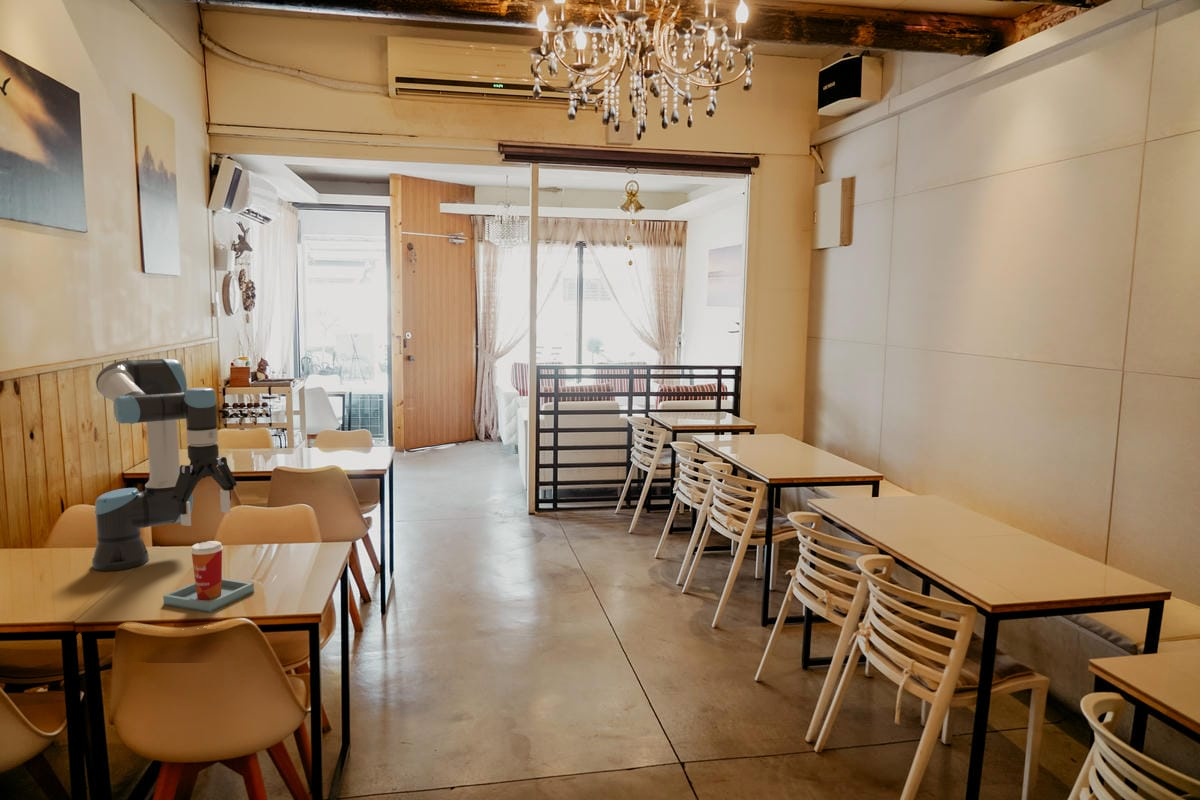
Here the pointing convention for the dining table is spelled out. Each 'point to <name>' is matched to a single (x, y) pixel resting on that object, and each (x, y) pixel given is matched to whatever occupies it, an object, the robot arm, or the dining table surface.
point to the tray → (189, 600)
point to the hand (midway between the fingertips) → (206, 518)
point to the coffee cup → (207, 569)
